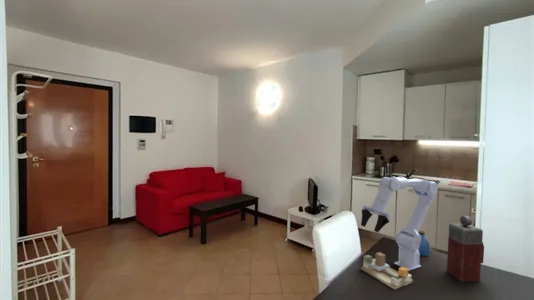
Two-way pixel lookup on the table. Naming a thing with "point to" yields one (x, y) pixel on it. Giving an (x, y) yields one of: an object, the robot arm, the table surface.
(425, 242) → the perfume bottle
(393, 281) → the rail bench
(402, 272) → the orange cardboard cube
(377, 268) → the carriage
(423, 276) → the table surface
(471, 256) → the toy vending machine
